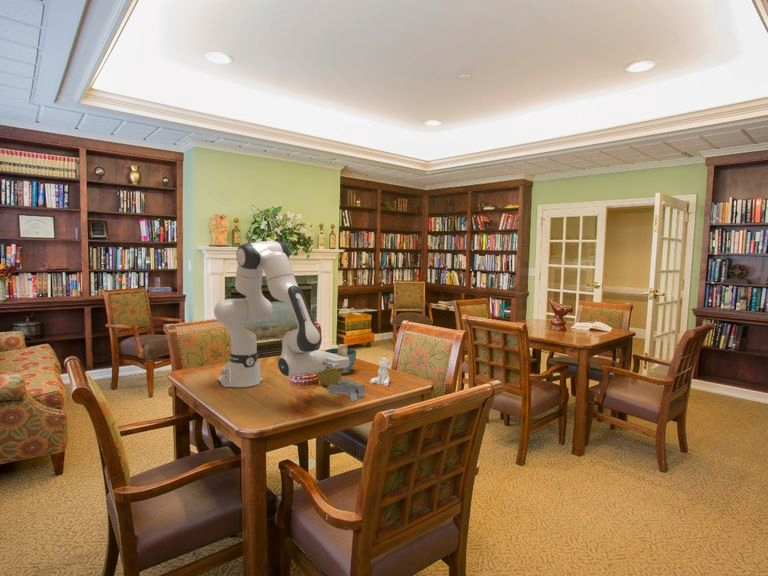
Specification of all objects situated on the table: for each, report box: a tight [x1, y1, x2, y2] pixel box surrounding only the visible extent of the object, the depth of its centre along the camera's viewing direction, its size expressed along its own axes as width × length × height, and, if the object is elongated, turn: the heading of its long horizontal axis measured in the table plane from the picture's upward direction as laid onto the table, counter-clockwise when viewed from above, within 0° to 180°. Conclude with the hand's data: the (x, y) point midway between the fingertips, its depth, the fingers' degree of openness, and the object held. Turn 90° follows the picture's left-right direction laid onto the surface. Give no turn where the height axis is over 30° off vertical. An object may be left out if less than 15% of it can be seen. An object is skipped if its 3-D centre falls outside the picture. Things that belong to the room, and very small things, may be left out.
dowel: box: [337, 344, 348, 372], centre depth 196 cm, size 4×4×11 cm
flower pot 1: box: [324, 347, 358, 375], centre depth 237 cm, size 16×16×11 cm
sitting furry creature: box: [369, 357, 392, 387], centre depth 219 cm, size 10×9×12 cm
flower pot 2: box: [316, 367, 343, 388], centre depth 214 cm, size 9×9×9 cm
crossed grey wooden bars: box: [328, 378, 366, 402], centre depth 200 cm, size 18×8×5 cm, turn 43°
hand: (344, 356), depth 197 cm, fingers closed on dowel, 4 cm apart
